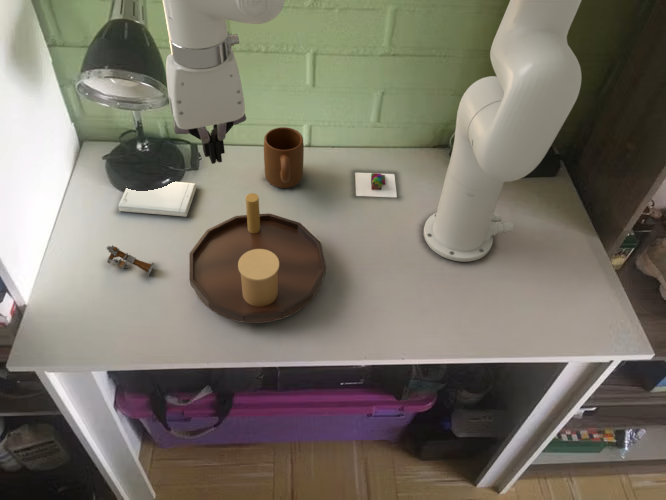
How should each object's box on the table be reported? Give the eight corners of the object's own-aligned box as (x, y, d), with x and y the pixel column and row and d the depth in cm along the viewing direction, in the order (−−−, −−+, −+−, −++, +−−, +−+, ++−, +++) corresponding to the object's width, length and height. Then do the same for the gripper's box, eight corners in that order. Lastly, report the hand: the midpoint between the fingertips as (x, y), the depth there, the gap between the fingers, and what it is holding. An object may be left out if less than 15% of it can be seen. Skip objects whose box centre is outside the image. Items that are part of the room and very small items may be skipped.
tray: (333, 315, 94) (336, 281, 88) (191, 329, 91) (184, 295, 85) (313, 218, 109) (315, 183, 103) (190, 227, 106) (184, 191, 99)
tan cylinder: (281, 306, 94) (281, 277, 89) (241, 310, 93) (239, 281, 88) (277, 276, 98) (277, 247, 93) (239, 279, 97) (236, 250, 92)
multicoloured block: (396, 197, 117) (398, 187, 115) (356, 195, 116) (357, 186, 114) (394, 174, 121) (395, 164, 120) (355, 172, 121) (356, 162, 119)
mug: (305, 204, 114) (307, 166, 107) (265, 205, 113) (264, 166, 106) (301, 164, 122) (302, 126, 115) (264, 165, 121) (262, 126, 114)
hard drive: (117, 205, 109) (185, 211, 108) (131, 176, 114) (195, 181, 114) (119, 212, 110) (186, 217, 110) (132, 183, 115) (196, 188, 115)
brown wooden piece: (105, 254, 101) (110, 240, 98) (149, 275, 103) (155, 262, 100) (100, 262, 100) (105, 248, 97) (144, 283, 102) (150, 270, 98)
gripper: (246, 27, 83) (254, 134, 97) (137, 43, 79) (161, 153, 93) (262, 53, 79) (268, 162, 92) (147, 71, 75) (171, 183, 88)
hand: (214, 157), depth 92 cm, fingers closed
